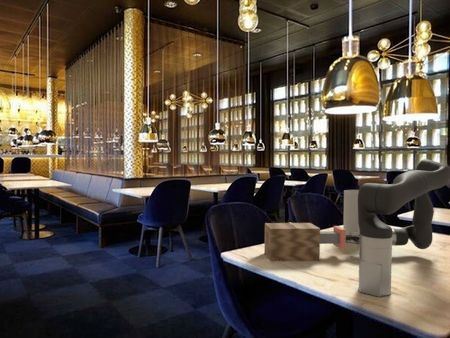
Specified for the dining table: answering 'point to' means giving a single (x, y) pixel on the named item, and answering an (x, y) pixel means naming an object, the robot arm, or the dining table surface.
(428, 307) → the dining table surface
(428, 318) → the dining table surface
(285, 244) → the block
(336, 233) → the salmon square plate
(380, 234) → the robot arm
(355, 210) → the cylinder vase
